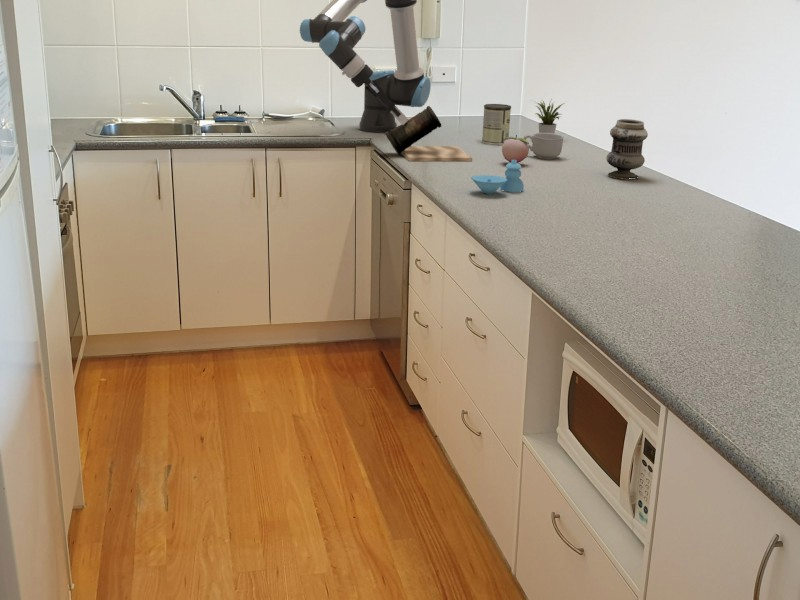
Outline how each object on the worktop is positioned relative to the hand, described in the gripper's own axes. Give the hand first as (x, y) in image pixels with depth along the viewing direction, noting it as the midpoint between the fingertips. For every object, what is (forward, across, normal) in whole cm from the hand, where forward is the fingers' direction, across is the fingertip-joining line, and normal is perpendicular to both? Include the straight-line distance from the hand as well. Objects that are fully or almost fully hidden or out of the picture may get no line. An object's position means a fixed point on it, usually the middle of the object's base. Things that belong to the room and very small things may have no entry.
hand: (405, 122), depth 311 cm
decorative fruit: (+34, +14, +16) cm, 40 cm away
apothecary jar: (+57, +33, +38) cm, 76 cm away
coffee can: (+36, -29, +20) cm, 51 cm away
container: (+2, -2, -9) cm, 9 cm away
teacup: (+44, 0, +26) cm, 51 cm away
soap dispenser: (+23, +55, +3) cm, 60 cm away
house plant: (+52, -37, +36) cm, 73 cm away
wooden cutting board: (+16, -2, -1) cm, 16 cm away
